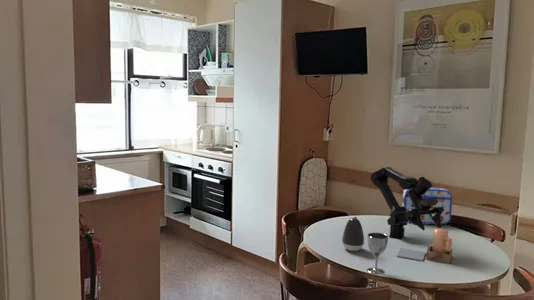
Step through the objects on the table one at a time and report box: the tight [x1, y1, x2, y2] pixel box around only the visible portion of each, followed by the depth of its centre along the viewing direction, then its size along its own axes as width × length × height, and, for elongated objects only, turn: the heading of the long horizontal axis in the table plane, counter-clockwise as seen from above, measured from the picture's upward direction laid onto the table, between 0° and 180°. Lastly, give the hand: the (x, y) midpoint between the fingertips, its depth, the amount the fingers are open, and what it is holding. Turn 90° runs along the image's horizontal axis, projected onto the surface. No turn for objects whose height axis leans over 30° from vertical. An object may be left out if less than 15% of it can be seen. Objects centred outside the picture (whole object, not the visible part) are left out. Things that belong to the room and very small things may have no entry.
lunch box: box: [401, 186, 453, 225], centre depth 242 cm, size 28×10×22 cm, turn 78°
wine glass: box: [366, 232, 389, 275], centre depth 171 cm, size 8×8×15 cm
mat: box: [396, 247, 427, 262], centre depth 190 cm, size 11×11×1 cm
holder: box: [425, 244, 453, 264], centre depth 188 cm, size 10×10×4 cm
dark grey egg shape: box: [341, 216, 365, 252], centre depth 195 cm, size 10×10×15 cm
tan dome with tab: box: [432, 227, 453, 254], centre depth 186 cm, size 9×6×13 cm
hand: (432, 229), depth 191 cm, fingers open, 9 cm apart
